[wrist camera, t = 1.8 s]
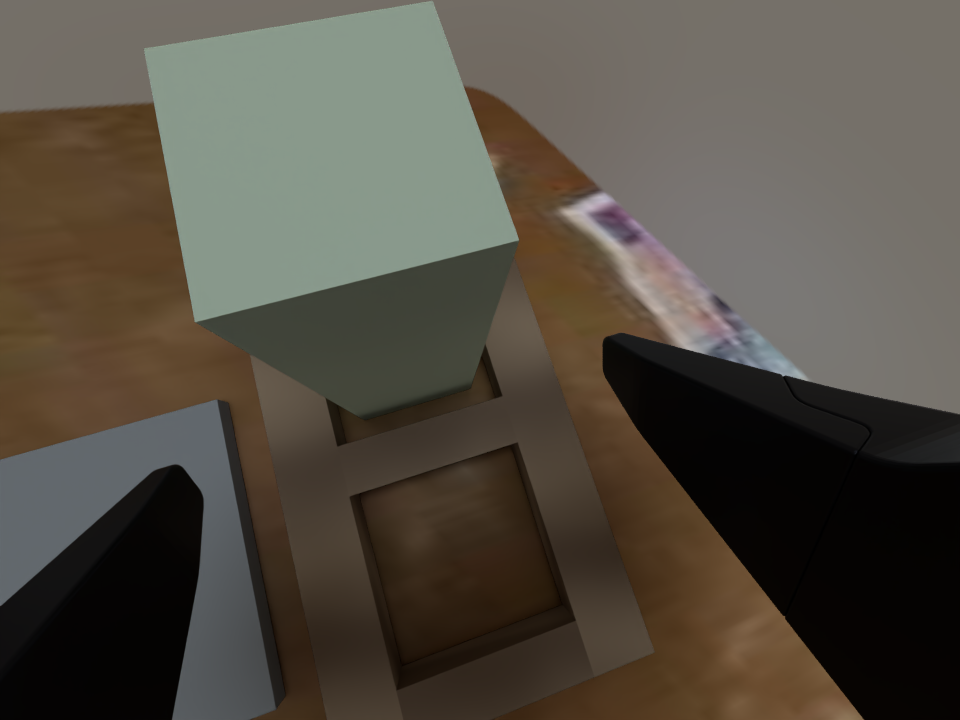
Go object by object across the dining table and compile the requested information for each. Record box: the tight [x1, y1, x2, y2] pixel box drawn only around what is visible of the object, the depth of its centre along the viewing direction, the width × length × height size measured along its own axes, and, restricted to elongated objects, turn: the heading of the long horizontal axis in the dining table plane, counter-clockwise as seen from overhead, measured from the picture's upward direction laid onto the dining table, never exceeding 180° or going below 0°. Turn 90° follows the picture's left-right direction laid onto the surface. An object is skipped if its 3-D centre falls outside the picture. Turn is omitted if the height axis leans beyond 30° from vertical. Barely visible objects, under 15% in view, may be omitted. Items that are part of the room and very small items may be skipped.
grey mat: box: [0, 400, 285, 720], centre depth 17 cm, size 12×12×1 cm
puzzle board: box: [250, 258, 655, 720], centre depth 19 cm, size 20×12×2 cm, turn 18°
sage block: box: [144, 1, 519, 420], centre depth 14 cm, size 5×5×14 cm
